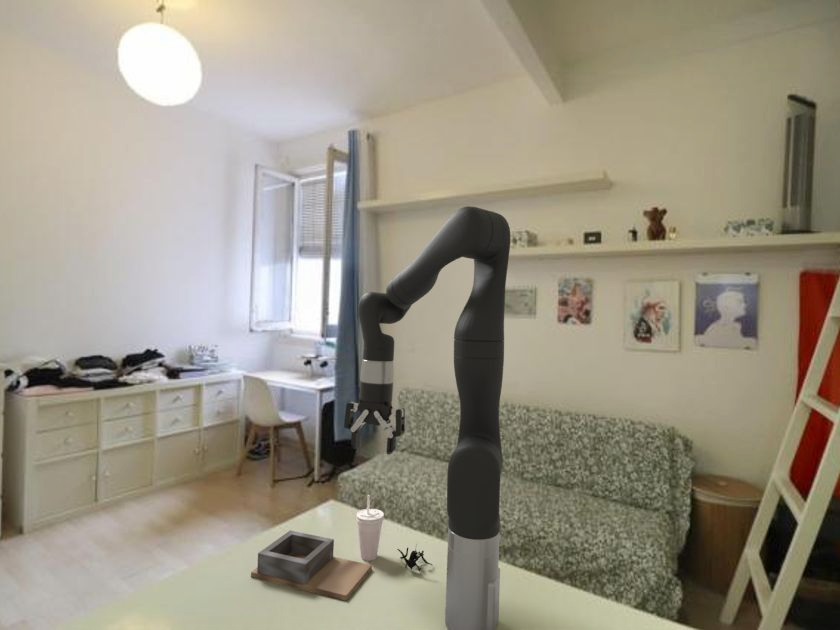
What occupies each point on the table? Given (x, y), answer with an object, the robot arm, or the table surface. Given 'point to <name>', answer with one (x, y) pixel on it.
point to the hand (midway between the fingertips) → (372, 450)
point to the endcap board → (309, 566)
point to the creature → (413, 555)
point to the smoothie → (369, 531)
